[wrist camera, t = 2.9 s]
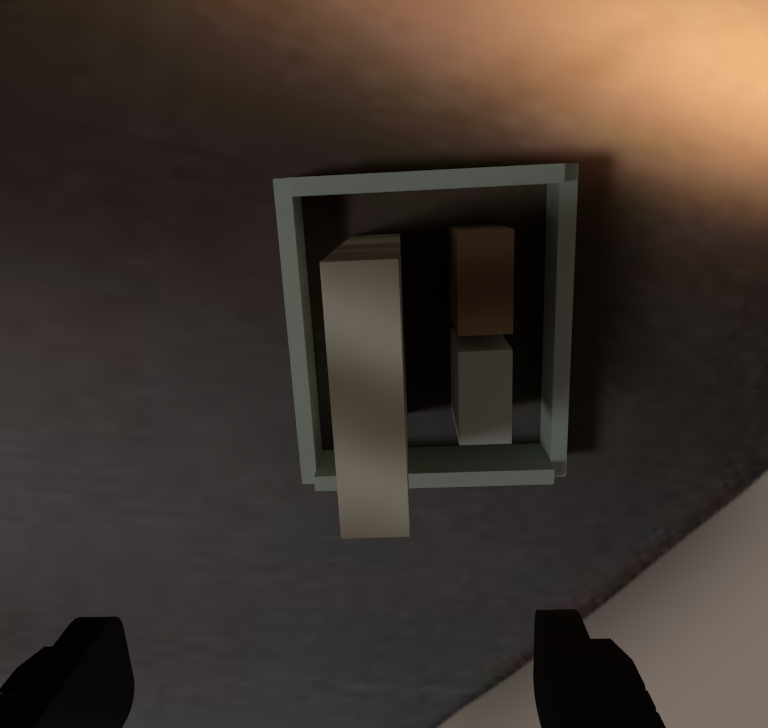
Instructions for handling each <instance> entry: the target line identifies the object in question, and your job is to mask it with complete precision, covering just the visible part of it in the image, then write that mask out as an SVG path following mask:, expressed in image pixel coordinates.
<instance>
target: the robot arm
mask: <svg viewBox="0 0 768 728" xmlns="http://www.w3.org/2000/svg"><path fill="white" fill-rule="evenodd" d="M533 681H534V694H535V701H536V707H537V712H538V716H539V720H540V724H541V728H666V727H665V725H664V723H663V721H662V719H661V717H660V715H659V713H657V712H656V707H655V705H654V703H653V701H652V699H651V697H650V695H649V693H648V691H646V689H645V684H644V682H643V680H642V678H641V676H640V675H639V673H638V671H637V668H636V666H635V664H634V662H633V660H632V659H631V658H630V657H629V656H628V655H627V654H626V653H625V652H623V650H622V649H621V648H619V647H618V646H617V645H616V644H615V643H614V642H613V641H612V640H611V639H590V637H589V635H588V632H587V630H586V628H585V625H584V623H583V620H582V618H581V616H580V614H579V612H578V610H576V609H557V610H536V613H535V630H534V669H533ZM133 697H134V677H133V672H132V667H131V662H130V657H129V652H128V647H127V642H126V637H125V633H124V628H123V624H122V621H121V620H120V618H118V617H79V618H76V619H75V620H73V621H72V622H71V623H70V625H69V626H68V627H67V628H66V630H65V631H64V632H63V634H62V635H61V636H60V637H59V639H58V640H57V641H56V643H55V644H54V645H53V646H52V647H44V648H42V649H41V650H40V651H38V652H37V653H36V654H34V655H33V656H32V657H30V658H29V659H28V660H27V661H25V662H24V663H23V664H21V665H20V666H19V667H17V668H16V669H15V671H14V672H13V673H12V674H11V676H10V677H9V678H8V679H7V681H6V682H5V683H4V684H3V685H2V687H1V688H0V728H122V727H123V725H124V723H125V721H126V719H127V717H128V715H129V712H130V710H131V706H132V702H133Z"/></svg>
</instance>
